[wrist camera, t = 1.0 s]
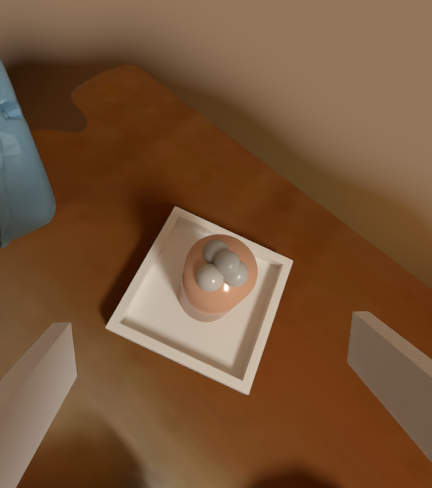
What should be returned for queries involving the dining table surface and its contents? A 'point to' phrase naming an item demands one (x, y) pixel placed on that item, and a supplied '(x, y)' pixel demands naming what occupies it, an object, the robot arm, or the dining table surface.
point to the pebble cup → (216, 277)
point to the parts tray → (188, 329)
